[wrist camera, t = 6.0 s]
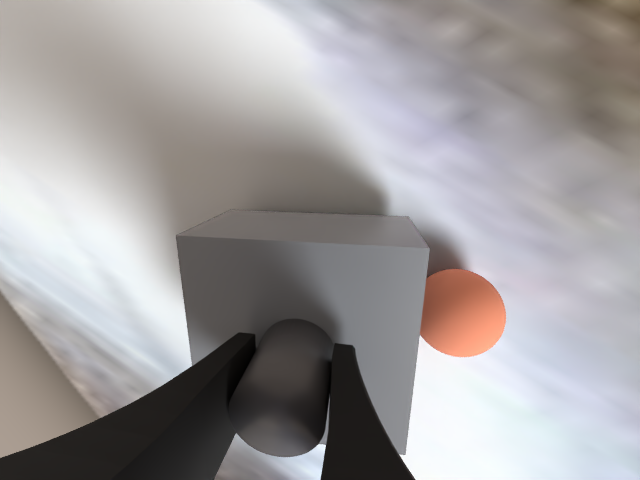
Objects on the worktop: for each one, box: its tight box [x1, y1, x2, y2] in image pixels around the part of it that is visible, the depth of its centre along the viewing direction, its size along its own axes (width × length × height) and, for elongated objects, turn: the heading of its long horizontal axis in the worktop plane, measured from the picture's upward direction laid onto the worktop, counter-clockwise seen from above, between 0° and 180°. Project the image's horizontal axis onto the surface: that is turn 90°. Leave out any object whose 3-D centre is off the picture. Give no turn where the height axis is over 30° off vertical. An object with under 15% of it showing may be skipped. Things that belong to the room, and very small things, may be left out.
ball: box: [420, 269, 506, 357], centre depth 15 cm, size 4×4×4 cm
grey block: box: [176, 210, 430, 457], centre depth 12 cm, size 9×9×8 cm
